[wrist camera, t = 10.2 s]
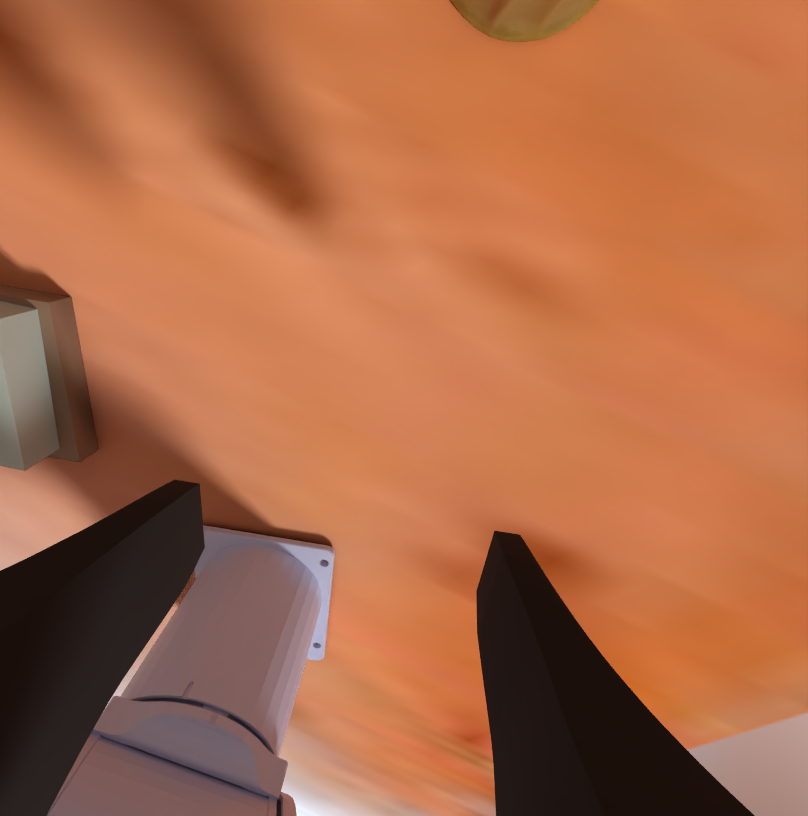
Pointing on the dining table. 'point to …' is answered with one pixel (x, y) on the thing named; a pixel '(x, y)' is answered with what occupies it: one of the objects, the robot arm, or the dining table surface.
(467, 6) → the vase
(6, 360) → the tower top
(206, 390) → the dining table surface
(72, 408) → the tower base
